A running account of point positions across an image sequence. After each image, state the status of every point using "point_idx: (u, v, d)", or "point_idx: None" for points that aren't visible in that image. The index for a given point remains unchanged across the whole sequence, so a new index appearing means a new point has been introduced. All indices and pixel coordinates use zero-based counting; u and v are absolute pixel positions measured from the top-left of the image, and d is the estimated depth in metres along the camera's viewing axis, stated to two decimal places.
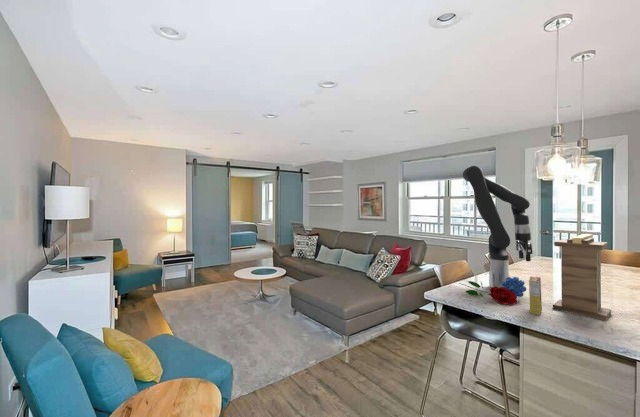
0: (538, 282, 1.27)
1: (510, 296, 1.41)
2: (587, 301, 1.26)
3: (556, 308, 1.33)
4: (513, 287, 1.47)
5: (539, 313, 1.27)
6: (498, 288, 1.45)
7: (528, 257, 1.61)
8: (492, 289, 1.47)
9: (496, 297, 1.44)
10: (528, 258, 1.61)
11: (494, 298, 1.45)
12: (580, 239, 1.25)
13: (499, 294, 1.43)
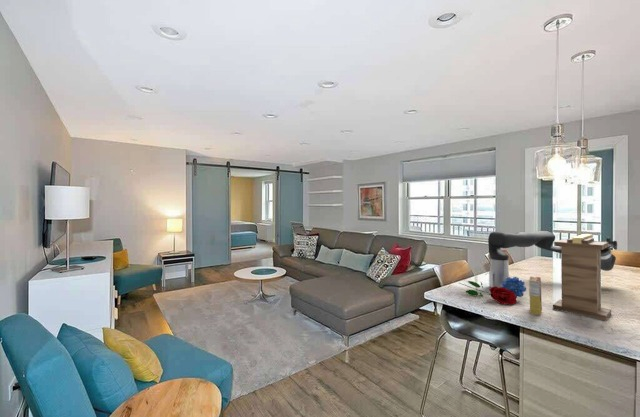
0: (538, 282, 1.27)
1: (510, 296, 1.41)
2: (587, 301, 1.26)
3: (556, 308, 1.33)
4: (513, 287, 1.47)
5: (539, 313, 1.27)
6: (498, 288, 1.45)
7: (610, 240, 1.50)
8: (492, 289, 1.47)
9: (496, 297, 1.44)
10: (610, 240, 1.49)
11: (494, 298, 1.45)
12: (580, 239, 1.25)
13: (499, 294, 1.43)
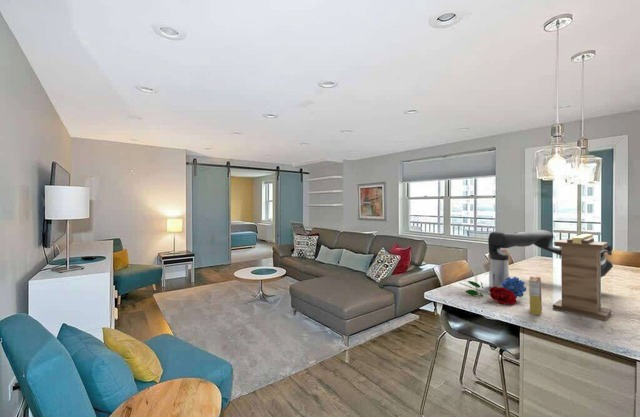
0: (538, 282, 1.27)
1: (509, 296, 1.41)
2: (587, 301, 1.26)
3: (556, 308, 1.33)
4: (513, 287, 1.47)
5: (539, 313, 1.27)
6: (498, 288, 1.45)
7: None
8: (492, 289, 1.47)
9: (495, 297, 1.44)
10: None
11: (493, 298, 1.45)
12: (580, 239, 1.25)
13: (498, 294, 1.43)
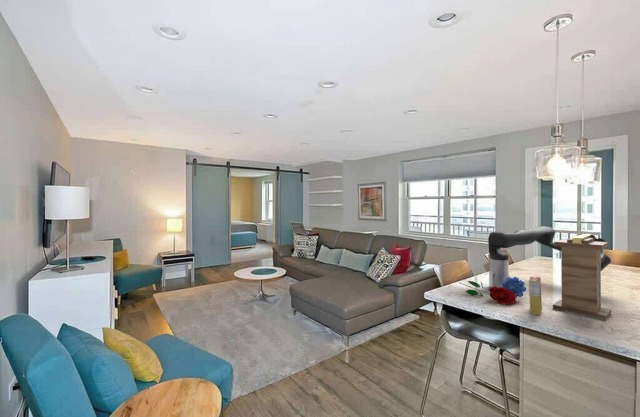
0: (538, 282, 1.27)
1: (509, 296, 1.41)
2: (587, 301, 1.26)
3: (556, 308, 1.33)
4: (513, 287, 1.47)
5: (539, 313, 1.27)
6: (497, 288, 1.45)
7: (595, 237, 1.37)
8: (491, 289, 1.47)
9: (495, 297, 1.44)
10: (594, 237, 1.37)
11: (493, 298, 1.45)
12: (580, 239, 1.25)
13: (498, 294, 1.43)
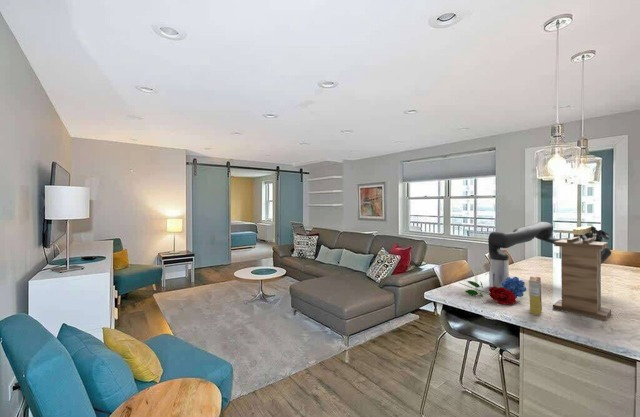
0: (538, 282, 1.27)
1: (509, 296, 1.41)
2: (587, 301, 1.26)
3: (556, 308, 1.33)
4: (513, 287, 1.47)
5: (539, 313, 1.27)
6: (497, 288, 1.45)
7: (595, 229, 1.38)
8: (491, 289, 1.47)
9: (495, 297, 1.44)
10: (595, 229, 1.38)
11: (493, 298, 1.45)
12: (580, 230, 1.26)
13: (498, 294, 1.43)
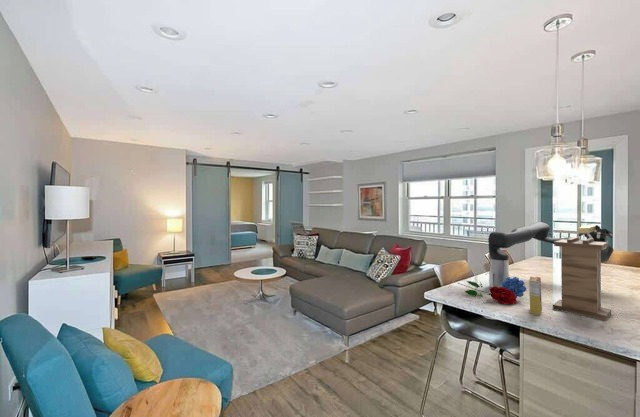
0: (538, 282, 1.27)
1: (510, 296, 1.41)
2: (587, 301, 1.26)
3: (556, 308, 1.33)
4: (513, 287, 1.47)
5: (539, 313, 1.27)
6: (498, 288, 1.45)
7: (599, 228, 1.44)
8: (492, 289, 1.47)
9: (496, 297, 1.44)
10: (599, 227, 1.44)
11: (494, 298, 1.45)
12: (586, 229, 1.32)
13: (499, 294, 1.43)
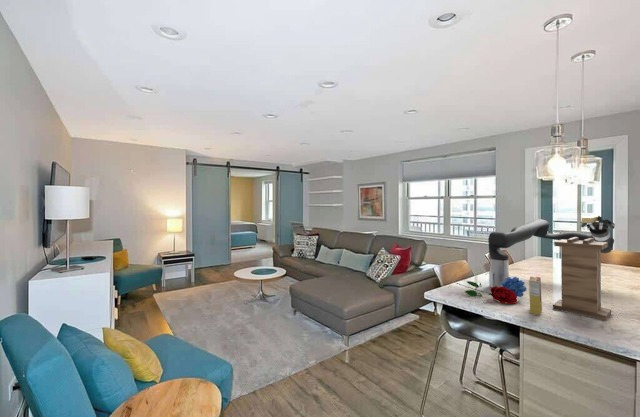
0: (538, 282, 1.27)
1: (510, 295, 1.42)
2: (587, 301, 1.26)
3: (556, 308, 1.33)
4: (513, 287, 1.47)
5: (539, 313, 1.27)
6: (498, 288, 1.45)
7: (602, 219, 1.48)
8: (492, 289, 1.47)
9: (497, 297, 1.44)
10: (601, 218, 1.48)
11: (495, 298, 1.45)
12: (589, 219, 1.36)
13: (500, 294, 1.43)
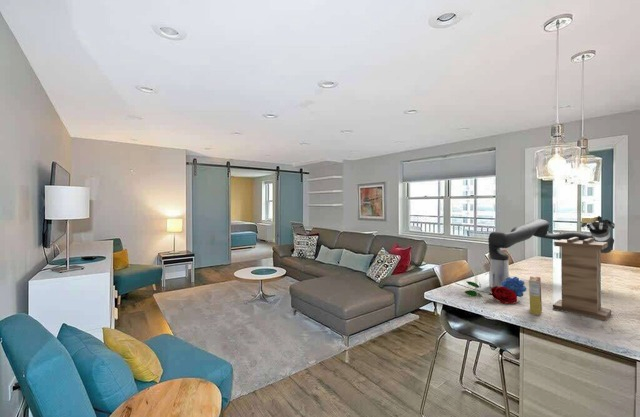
0: (538, 282, 1.27)
1: (511, 295, 1.43)
2: (587, 301, 1.26)
3: (556, 308, 1.33)
4: (513, 287, 1.47)
5: (539, 313, 1.27)
6: (499, 287, 1.46)
7: (602, 219, 1.48)
8: (492, 289, 1.47)
9: (497, 297, 1.44)
10: (601, 218, 1.48)
11: (495, 298, 1.45)
12: (589, 219, 1.36)
13: (500, 293, 1.44)
